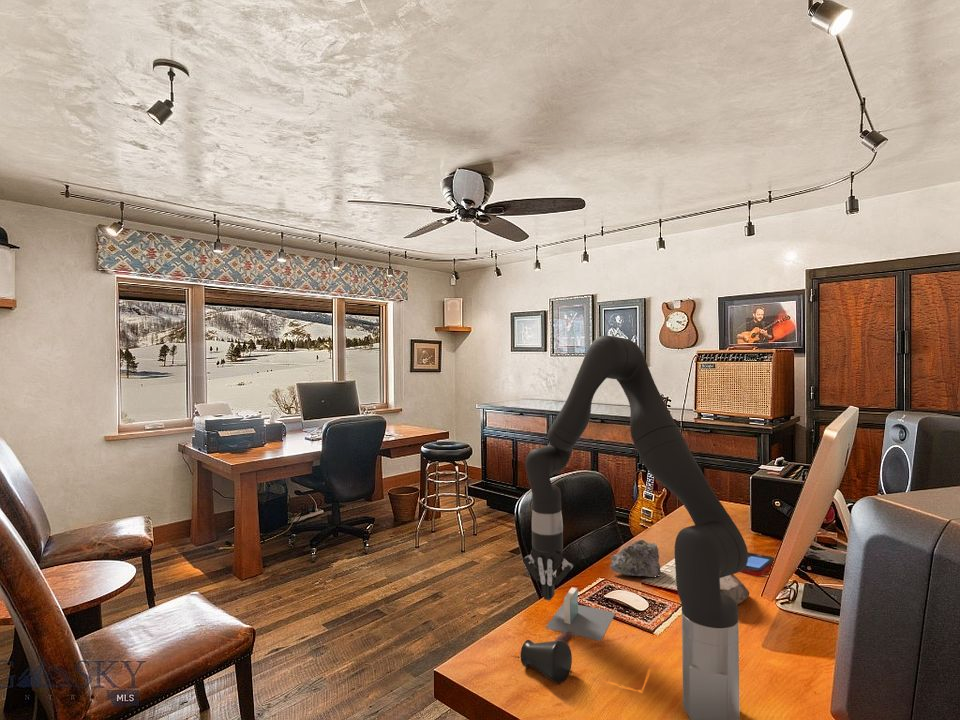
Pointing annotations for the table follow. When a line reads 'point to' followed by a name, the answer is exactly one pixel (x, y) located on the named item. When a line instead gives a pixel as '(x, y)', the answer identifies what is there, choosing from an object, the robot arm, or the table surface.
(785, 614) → the table surface
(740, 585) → the stone
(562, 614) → the mat
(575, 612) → the tile
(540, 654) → the coffee pot
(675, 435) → the robot arm
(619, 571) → the mineral rock
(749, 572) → the game console
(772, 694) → the table surface
